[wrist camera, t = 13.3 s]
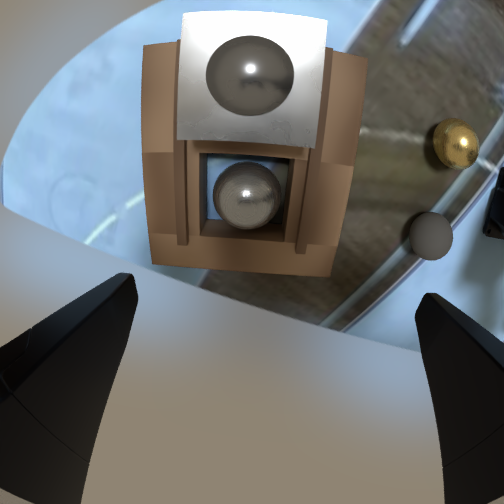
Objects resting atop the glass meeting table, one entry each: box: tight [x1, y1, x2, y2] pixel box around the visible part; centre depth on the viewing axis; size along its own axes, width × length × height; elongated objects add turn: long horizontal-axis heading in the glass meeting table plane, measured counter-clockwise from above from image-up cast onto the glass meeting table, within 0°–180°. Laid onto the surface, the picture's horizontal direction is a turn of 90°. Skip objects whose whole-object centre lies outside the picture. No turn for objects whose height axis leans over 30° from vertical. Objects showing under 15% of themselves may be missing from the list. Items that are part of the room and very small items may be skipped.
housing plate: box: [141, 39, 368, 277], centre depth 16 cm, size 12×14×3 cm
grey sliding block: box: [177, 11, 327, 148], centre depth 11 cm, size 6×6×3 cm
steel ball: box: [213, 161, 281, 229], centre depth 17 cm, size 4×4×4 cm
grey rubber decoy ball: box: [409, 212, 453, 260], centre depth 18 cm, size 4×4×4 cm
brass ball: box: [433, 118, 479, 170], centre depth 14 cm, size 4×4×4 cm
